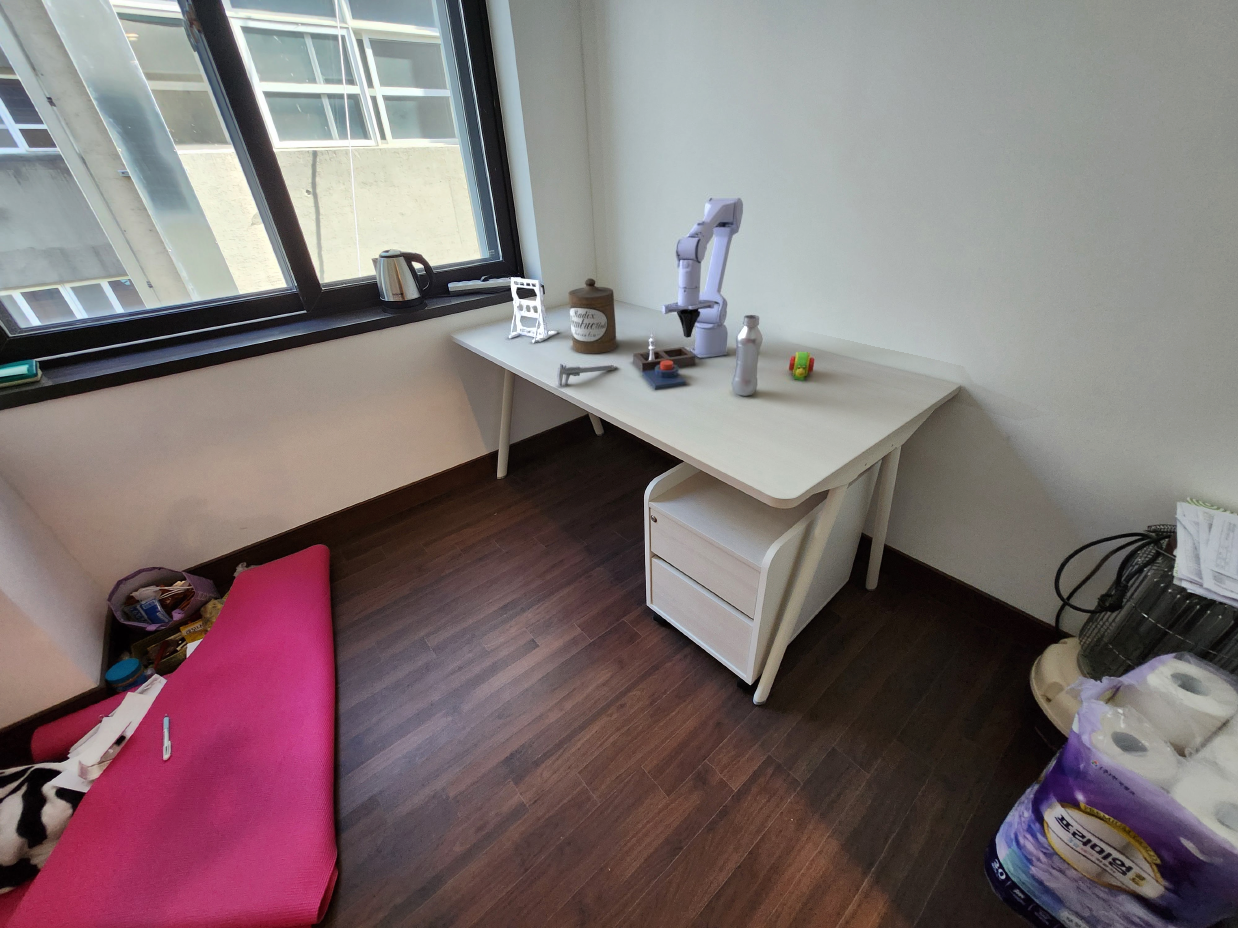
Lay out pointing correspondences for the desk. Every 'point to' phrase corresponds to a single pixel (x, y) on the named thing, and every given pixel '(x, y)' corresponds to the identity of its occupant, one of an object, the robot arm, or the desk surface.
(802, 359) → the green wheeled toy
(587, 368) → the caliper
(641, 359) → the holder
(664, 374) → the station
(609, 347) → the wooden container
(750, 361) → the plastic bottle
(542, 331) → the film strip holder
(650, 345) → the chess piece
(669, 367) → the station button
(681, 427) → the desk surface
